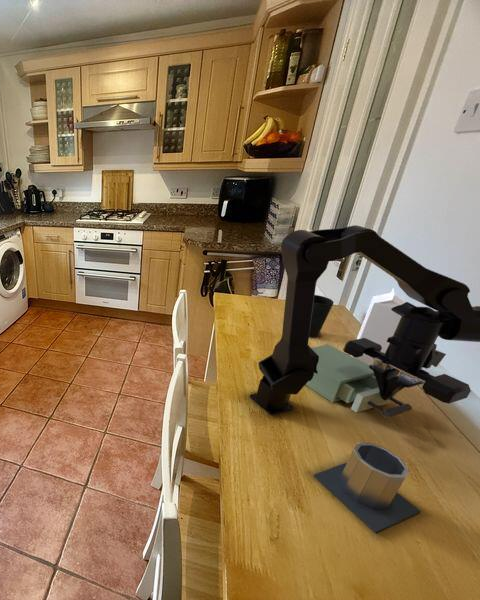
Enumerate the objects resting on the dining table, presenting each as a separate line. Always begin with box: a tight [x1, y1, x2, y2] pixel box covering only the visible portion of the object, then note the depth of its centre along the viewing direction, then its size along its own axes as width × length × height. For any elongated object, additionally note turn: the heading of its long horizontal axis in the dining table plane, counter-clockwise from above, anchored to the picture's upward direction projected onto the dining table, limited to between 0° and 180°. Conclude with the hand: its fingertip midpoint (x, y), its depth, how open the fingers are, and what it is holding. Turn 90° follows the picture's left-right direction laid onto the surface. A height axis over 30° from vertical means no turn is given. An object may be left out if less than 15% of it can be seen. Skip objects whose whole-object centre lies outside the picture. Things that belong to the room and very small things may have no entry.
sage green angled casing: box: [305, 343, 375, 404], centre depth 80 cm, size 13×13×6 cm
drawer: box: [337, 375, 413, 418], centre depth 73 cm, size 16×11×4 cm
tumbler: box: [339, 442, 410, 510], centre depth 52 cm, size 6×7×8 cm
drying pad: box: [313, 462, 421, 534], centre depth 53 cm, size 10×10×1 cm
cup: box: [309, 294, 335, 338], centre depth 101 cm, size 8×8×12 cm
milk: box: [350, 287, 405, 366], centre depth 82 cm, size 6×6×22 cm
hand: (384, 399), depth 69 cm, fingers closed
